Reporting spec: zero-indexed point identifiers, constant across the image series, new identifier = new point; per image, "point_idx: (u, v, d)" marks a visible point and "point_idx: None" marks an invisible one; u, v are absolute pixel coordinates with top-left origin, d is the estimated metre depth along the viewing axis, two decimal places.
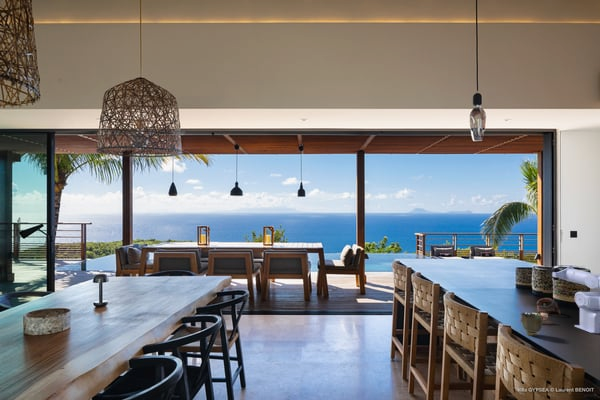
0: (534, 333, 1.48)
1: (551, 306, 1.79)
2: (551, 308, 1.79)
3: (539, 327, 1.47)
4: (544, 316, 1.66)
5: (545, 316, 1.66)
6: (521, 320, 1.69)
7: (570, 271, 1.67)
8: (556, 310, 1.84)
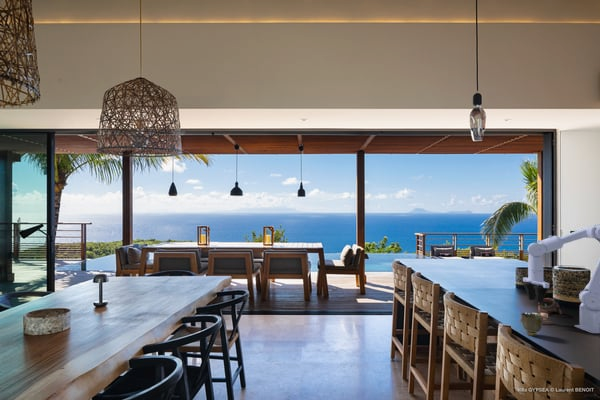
0: (534, 333, 1.48)
1: (552, 306, 1.79)
2: (552, 308, 1.79)
3: (539, 327, 1.47)
4: (544, 316, 1.66)
5: (545, 316, 1.66)
6: (521, 320, 1.69)
7: (534, 275, 1.66)
8: (557, 310, 1.84)
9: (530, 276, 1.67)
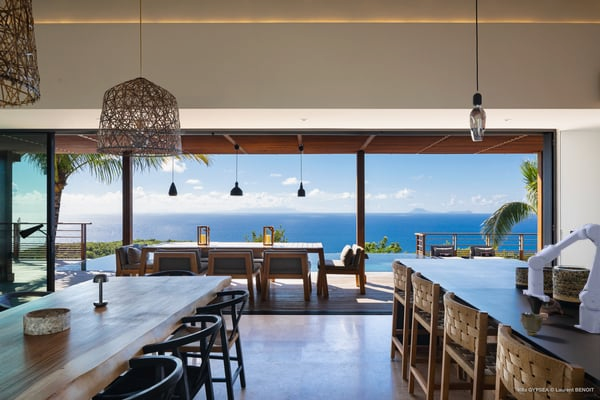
0: (534, 333, 1.48)
1: (554, 306, 1.79)
2: (554, 308, 1.78)
3: (539, 327, 1.47)
4: (544, 316, 1.66)
5: (545, 316, 1.66)
6: (521, 320, 1.69)
7: (534, 289, 1.65)
8: (558, 310, 1.84)
9: (530, 289, 1.67)
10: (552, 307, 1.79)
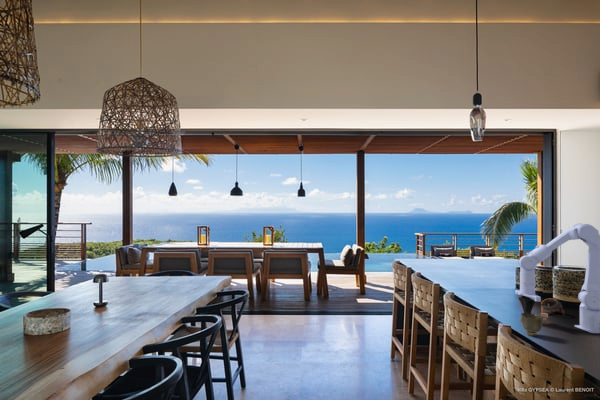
0: (534, 333, 1.48)
1: (556, 306, 1.78)
2: (556, 308, 1.78)
3: (539, 327, 1.47)
4: (544, 316, 1.66)
5: (545, 316, 1.66)
6: (521, 320, 1.69)
7: (526, 289, 1.65)
8: (560, 310, 1.83)
9: (522, 289, 1.67)
10: (554, 307, 1.78)
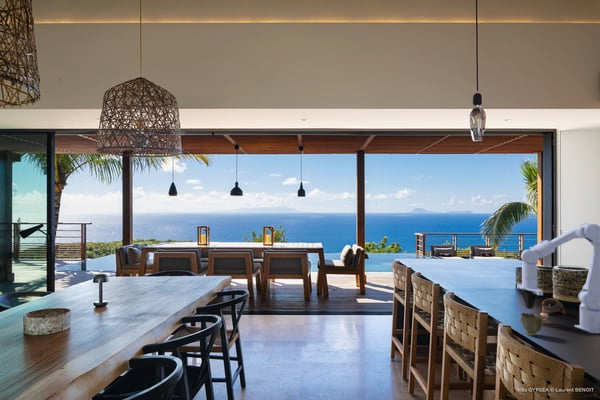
0: (534, 333, 1.48)
1: (556, 307, 1.78)
2: (557, 309, 1.78)
3: (539, 327, 1.47)
4: (544, 316, 1.66)
5: (545, 316, 1.66)
6: (521, 320, 1.69)
7: (528, 283, 1.65)
8: (561, 310, 1.83)
9: (524, 283, 1.67)
10: (555, 307, 1.78)
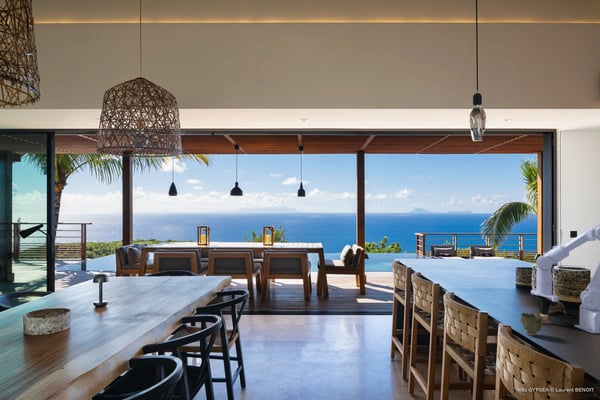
0: (534, 333, 1.48)
1: (557, 307, 1.78)
2: (557, 309, 1.78)
3: (539, 327, 1.47)
4: (544, 317, 1.66)
5: (545, 317, 1.66)
6: (521, 320, 1.69)
7: (543, 289, 1.66)
8: (562, 311, 1.83)
9: (538, 289, 1.67)
10: (556, 307, 1.78)
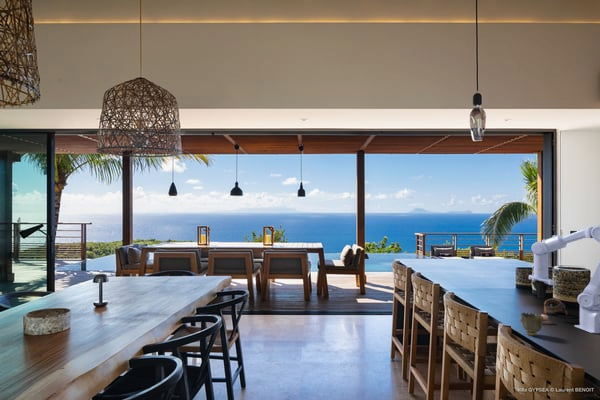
0: (534, 333, 1.48)
1: (559, 307, 1.78)
2: (559, 309, 1.78)
3: (539, 327, 1.47)
4: (544, 318, 1.66)
5: (545, 318, 1.66)
6: (521, 320, 1.69)
7: (539, 273, 1.72)
8: (563, 311, 1.83)
9: (536, 274, 1.74)
10: (557, 307, 1.78)
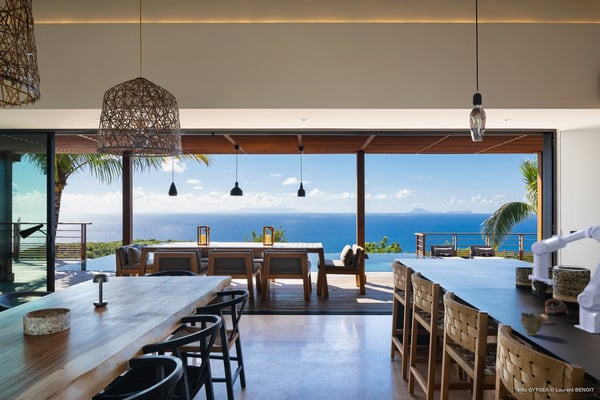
0: (534, 333, 1.48)
1: (560, 307, 1.78)
2: (560, 309, 1.77)
3: (539, 327, 1.47)
4: (544, 318, 1.66)
5: (545, 318, 1.66)
6: (521, 320, 1.69)
7: (539, 273, 1.72)
8: (564, 311, 1.83)
9: (536, 274, 1.74)
10: (558, 308, 1.78)
